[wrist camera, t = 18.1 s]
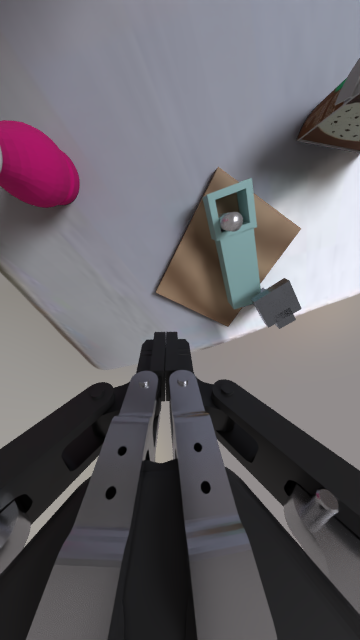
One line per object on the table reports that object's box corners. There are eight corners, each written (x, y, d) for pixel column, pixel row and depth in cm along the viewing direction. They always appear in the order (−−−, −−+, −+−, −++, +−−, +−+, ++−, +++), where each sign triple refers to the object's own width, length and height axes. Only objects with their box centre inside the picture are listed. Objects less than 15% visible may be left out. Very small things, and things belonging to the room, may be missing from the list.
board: (216, 169, 25) (218, 166, 24) (296, 228, 29) (301, 228, 28) (156, 290, 32) (155, 292, 31) (226, 323, 36) (228, 326, 35)
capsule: (216, 211, 27) (232, 208, 20) (227, 218, 28) (246, 217, 21) (209, 224, 28) (222, 226, 21) (220, 231, 28) (236, 235, 22)
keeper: (234, 283, 32) (254, 302, 25) (260, 266, 31) (289, 280, 24) (250, 309, 35) (271, 333, 28) (274, 294, 34) (304, 315, 26)
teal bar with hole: (255, 292, 32) (264, 300, 29) (225, 302, 33) (231, 310, 30) (241, 183, 25) (251, 177, 22) (202, 197, 25) (207, 194, 22)
